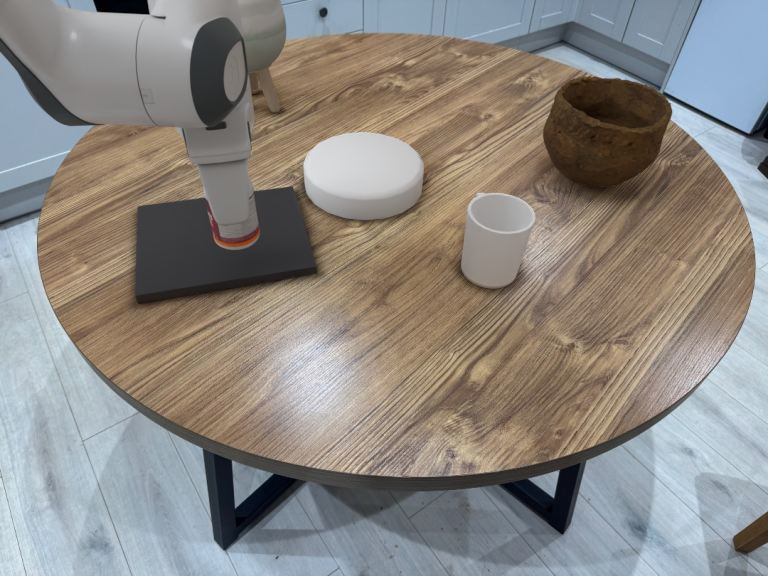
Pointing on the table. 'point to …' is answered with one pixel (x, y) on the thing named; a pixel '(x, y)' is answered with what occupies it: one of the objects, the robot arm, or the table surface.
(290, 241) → the board
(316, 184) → the container
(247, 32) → the planter
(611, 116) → the bowl
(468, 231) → the mug
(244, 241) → the pill bottle
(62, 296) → the table surface
